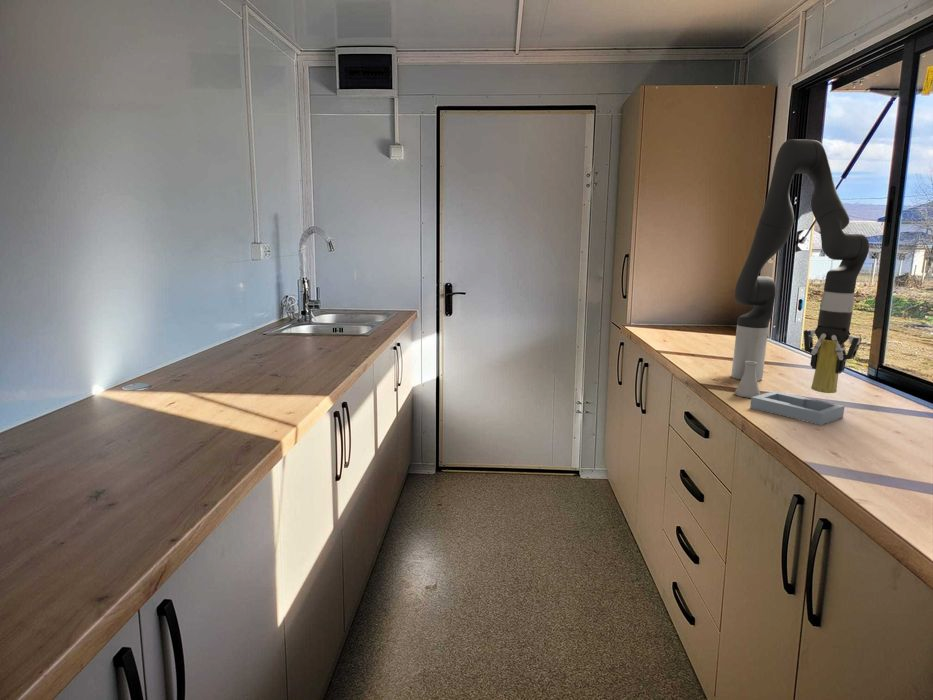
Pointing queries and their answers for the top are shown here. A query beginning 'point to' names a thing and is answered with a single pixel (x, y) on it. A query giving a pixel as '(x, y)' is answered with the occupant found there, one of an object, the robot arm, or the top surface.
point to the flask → (748, 382)
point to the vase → (826, 368)
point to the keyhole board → (797, 407)
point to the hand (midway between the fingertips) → (826, 370)
